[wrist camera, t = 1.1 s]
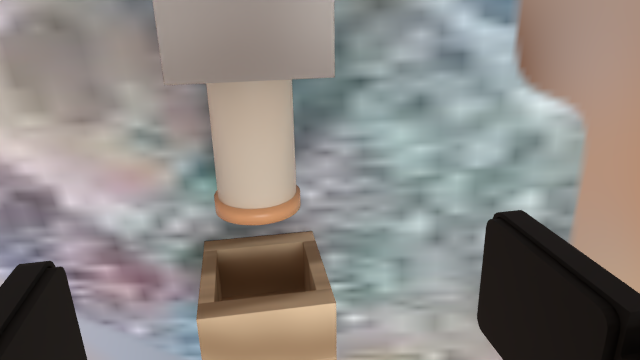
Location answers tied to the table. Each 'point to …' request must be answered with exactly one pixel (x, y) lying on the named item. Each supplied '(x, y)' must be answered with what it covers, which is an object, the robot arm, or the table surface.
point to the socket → (266, 300)
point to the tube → (253, 151)
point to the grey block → (244, 40)
